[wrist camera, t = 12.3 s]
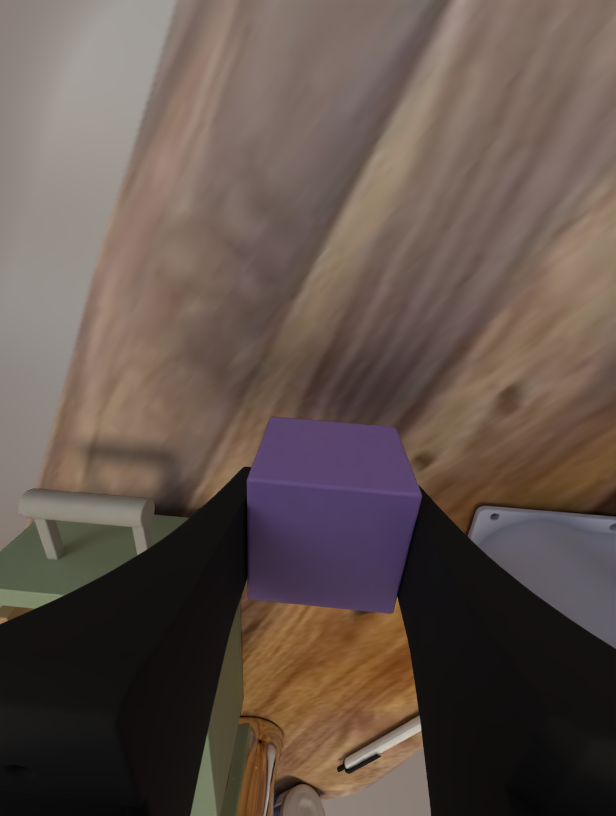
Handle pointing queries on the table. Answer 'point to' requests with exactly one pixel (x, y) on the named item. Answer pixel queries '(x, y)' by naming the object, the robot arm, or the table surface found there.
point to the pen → (380, 746)
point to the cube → (329, 515)
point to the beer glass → (253, 769)
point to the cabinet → (221, 729)
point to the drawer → (73, 544)
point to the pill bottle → (298, 802)
